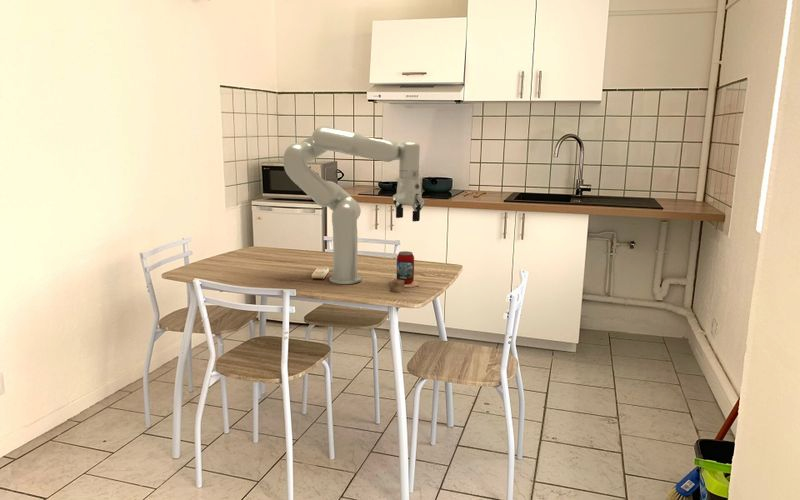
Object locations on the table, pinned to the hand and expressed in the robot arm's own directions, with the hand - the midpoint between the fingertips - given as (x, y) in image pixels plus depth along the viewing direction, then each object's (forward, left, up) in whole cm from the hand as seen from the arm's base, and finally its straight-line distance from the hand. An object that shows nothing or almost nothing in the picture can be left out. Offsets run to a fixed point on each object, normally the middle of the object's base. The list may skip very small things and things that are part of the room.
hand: (407, 219), depth 229 cm
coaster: (+1, -2, -25) cm, 25 cm away
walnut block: (+6, -11, -26) cm, 28 cm away
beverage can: (+1, -2, -25) cm, 25 cm away
